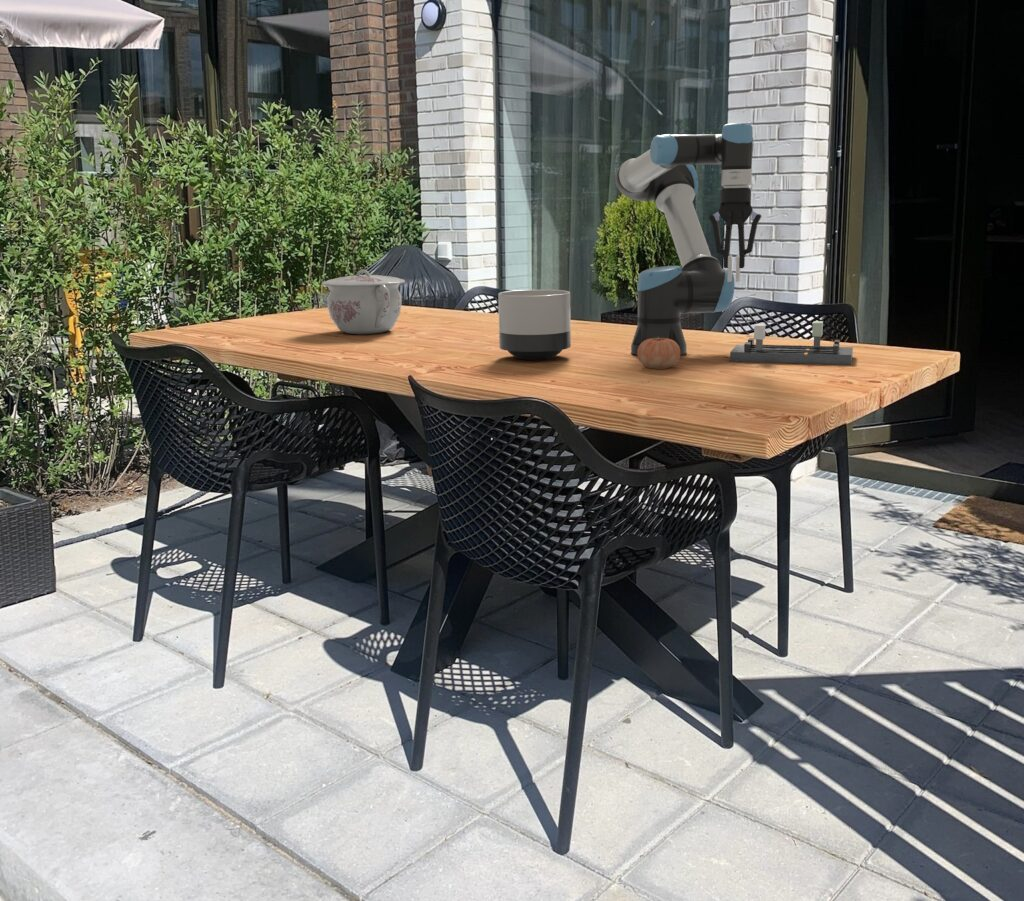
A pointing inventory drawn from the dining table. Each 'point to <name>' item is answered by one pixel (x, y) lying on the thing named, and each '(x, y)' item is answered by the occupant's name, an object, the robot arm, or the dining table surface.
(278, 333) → the dining table surface
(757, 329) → the fader
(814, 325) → the fader
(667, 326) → the robot arm
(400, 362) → the dining table surface
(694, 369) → the dining table surface
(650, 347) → the small orange pumpkin
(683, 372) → the dining table surface
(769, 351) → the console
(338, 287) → the chamber pot
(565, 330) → the planter
